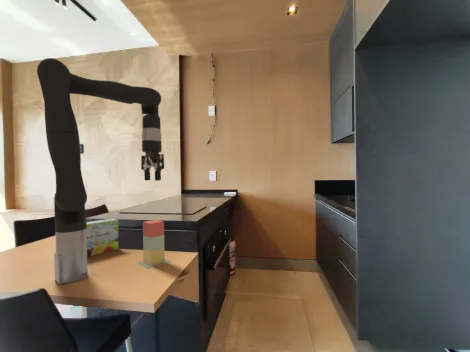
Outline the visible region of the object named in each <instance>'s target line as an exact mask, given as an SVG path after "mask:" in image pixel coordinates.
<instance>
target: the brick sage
mask: <svg viewBox="0 0 470 352" xmlns="http://www.w3.org/2000/svg"><path fill="white" fill-rule="evenodd" d="M142 238H143V239H142V242H143V243H142V244H143V245H142V247H143V249H145V250H147V251H150V252H152V251H156V250H160V249H164V250H165V234H164V235H161V236H157V237H152V238H149V237H146V236H143V235H142ZM143 249H142V250H143Z"/></svg>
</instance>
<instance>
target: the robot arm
mask: <svg viewBox="0 0 470 352" xmlns="http://www.w3.org/2000/svg"><path fill="white" fill-rule="evenodd" d="M70 71H71V70H70V69H69V68H68V67H67V66H66V65H65V63H63V62H62V61H60V60H59V59H56V58H52V57H48V58H44V59H43V60H41V61H40V62H39V64H38V65H37V68H36V75H37V78H38V82H39V86H40V88H41V93H42V97H43V102H44V103H43V104H44V105H43V106H44V121H45V122H44V123H45V126H44V127H45V135H46V144H47V148H48V152H49V155H50V159H51V162H52V163H51V164H52V165H53V168H54V173H55V193H54V199H53V201H54V202H53V204H54V205H53V207H54V230H55V231H54V232H55V235H54V236H55V252H53V253H54V254H53V256H54V257H53V258H54V281H56V283H57V284H58V285H62V284H69V283H74V282H78V281H81V280H84V279H85V278H86V277H88V270H89V269H88V257H87V218H86V203H87V200H88V195H87V191H86V187H85V184H84V178H83V174H82V166H81V163H82V157H81V142H80V134H79V128H78V123H77V120H76V116H75V114H74V111H73V107H72V100H71V95H73V94H74V95H82V96H88V97H95V98H100V99H106V100H108V101H109V100H110V101H113V102H118V103H123V104H127V105H132V104H139V105H140V107H141V113H142V114H141V116H142V120H141V121H142V126H141V128H142V132H141V151H142V152H143V153H145V155H141V159H140V161H141V164H140V169H141V171H143V172H144V174H143V177H144V181H151V169H152V168H153V170H154V181H161V180H162V173H161V172H162V170H164V169H165V155H164V153H162V132H161V131H162V129H161V128H162V127H161V125H162V124H161V117H160V116H159V114H160V113H159V105H161V102H162V95H161V94H160V92H159V91H157V90H156V89H154V88H152V87H146V86H145V87H144V86H135V85H130V84H126V83H122V82H118V81H113V80H104V79H102V80H101V79H92V78H86V77H82V76H78V75H77V74H74V73H71V72H70Z"/></svg>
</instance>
